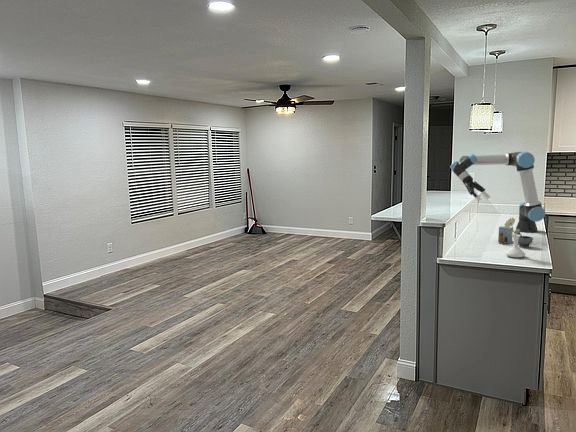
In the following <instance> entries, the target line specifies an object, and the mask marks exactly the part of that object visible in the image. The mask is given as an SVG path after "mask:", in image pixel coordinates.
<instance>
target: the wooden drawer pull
mask: <svg viewBox="0 0 576 432" xmlns="http://www.w3.org/2000/svg"><path fill="white" fill-rule="evenodd" d="M498 237H499V242H498V244H499V245H504V244H508V243H507V237H503V233H499V232H498Z"/></svg>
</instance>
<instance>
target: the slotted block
mask: <svg viewBox="0 0 576 432" xmlns="http://www.w3.org/2000/svg"><path fill="white" fill-rule="evenodd" d="M510 230H512V231H513V230H514V227H513V228H512V226H510V227H509V228H506V227H504V225H503V226H498V234H499V233H503V237H507V243H506V244H507V245H508V244H512V243H513V236H512V235H513V234H514V231H513V232H512V233H511V234H509V233H508V232H509V231H510ZM497 240H498V243H499V236H498V239H497Z"/></svg>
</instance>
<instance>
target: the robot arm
mask: <svg viewBox="0 0 576 432" xmlns="http://www.w3.org/2000/svg"><path fill="white" fill-rule="evenodd" d="M535 160H536V159H535V157H534V154H532V153H531V152H528V151H517V152H515V151H514V152H510V153H509V152H507V153H505V154H491V155H489V154H488V155H487V154H486V155H484V154H483V155H475V154H474V153H470V154H469V155H462V156H460V158H459V160H456V161H454V162H452V163H451V165H450V166H449V168H450V169H451V171H452V172H453V173H454V174H455V176H457V178H458V179H459V180H460V181H461V182H462V183H463V185H464V186H465V188H466V189H467V192H468V193H469V195H470V196H473V197H474V198H475V199H476V201H478V202H480V200H482V198H481V196H480V195H479V194H478V193H477V192H475V190H477V191H479V192H481V194H482V195H483V196H484V198H486V200H489V199H490V197H491V196H490V195H489V194H488V193H487V192H486V188H484V187H483V186H482V185H481V184H479V183H478V182H477V181H474V178H473V177H472V175H470V173H469V172H468V171H467V169H469V168H470V167H471V166H489V165H496V166H497V165H505V166H510V167H511V166H512V167H516V172H517V173H519V177H520V181H521V186H522V191H523V195H524V202H520V203H519V206H518V207H519V211H518V222H517V224H516V226H515V230H518V229H519V232H520V233H537V232H538V227H537V223H536V222H541V221H542V220H543V219H544V218H545V217H546V211H545V208H543V206H542V205H543V204H542V202H541V201H540V200H539V197H538V192H537V187H536V183H535V177H534V172H533V170H534V168H535V166H534V164H535ZM474 189H475V190H474Z"/></svg>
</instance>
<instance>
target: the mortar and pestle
mask: <svg viewBox="0 0 576 432" xmlns="http://www.w3.org/2000/svg"><path fill="white" fill-rule="evenodd" d="M515 231H516V229H514V232H515ZM521 233H522V232H519V233H515V234H517V235H521V236H520V237H519V239H518V247H519V248H520V249H530V245H532V244H533V240H534V237H532V236H527V235H522V234H521Z"/></svg>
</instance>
